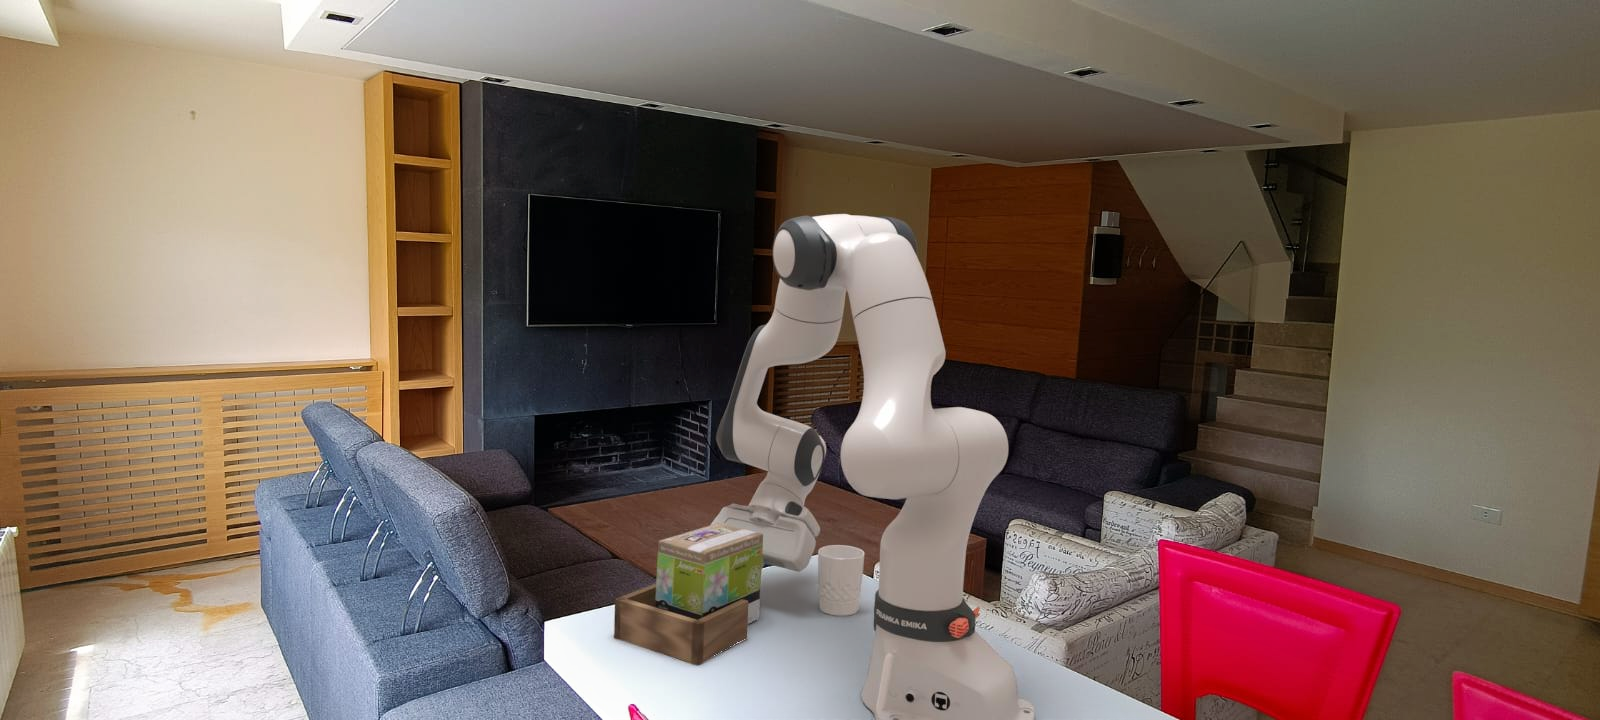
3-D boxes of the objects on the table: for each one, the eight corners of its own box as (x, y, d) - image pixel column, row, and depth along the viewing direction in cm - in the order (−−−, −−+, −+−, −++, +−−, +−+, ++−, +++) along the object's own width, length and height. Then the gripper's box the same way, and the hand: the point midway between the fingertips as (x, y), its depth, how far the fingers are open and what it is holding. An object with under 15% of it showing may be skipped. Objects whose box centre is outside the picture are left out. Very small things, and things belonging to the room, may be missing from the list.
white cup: (806, 609, 148) (809, 552, 147) (831, 597, 154) (834, 542, 153) (846, 621, 143) (848, 561, 142) (870, 608, 150) (873, 551, 149)
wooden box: (747, 638, 134) (748, 600, 134) (697, 665, 124) (698, 624, 124) (666, 614, 143) (667, 578, 143) (614, 637, 133) (614, 599, 133)
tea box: (702, 649, 130) (705, 552, 129) (652, 632, 135) (654, 539, 134) (761, 619, 142) (764, 531, 141) (713, 605, 148) (716, 520, 147)
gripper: (719, 492, 156) (682, 558, 149) (816, 511, 145) (781, 583, 138) (733, 511, 160) (698, 577, 153) (828, 531, 150) (795, 603, 142)
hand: (738, 580), depth 145 cm, fingers closed, pressing on tea box
